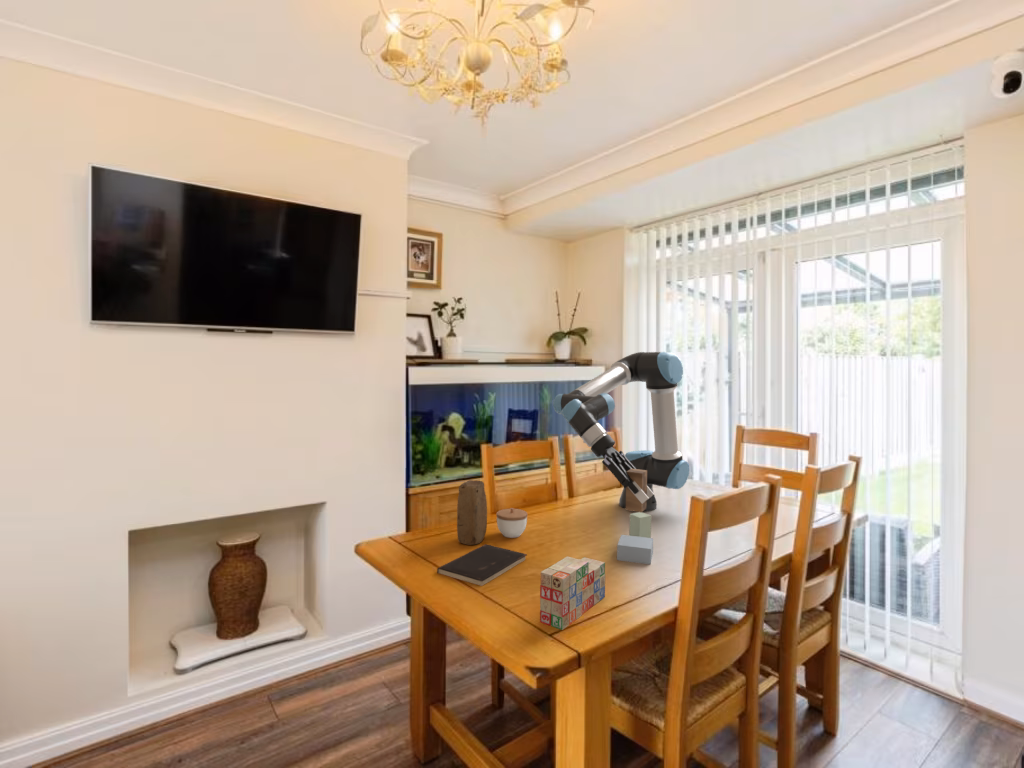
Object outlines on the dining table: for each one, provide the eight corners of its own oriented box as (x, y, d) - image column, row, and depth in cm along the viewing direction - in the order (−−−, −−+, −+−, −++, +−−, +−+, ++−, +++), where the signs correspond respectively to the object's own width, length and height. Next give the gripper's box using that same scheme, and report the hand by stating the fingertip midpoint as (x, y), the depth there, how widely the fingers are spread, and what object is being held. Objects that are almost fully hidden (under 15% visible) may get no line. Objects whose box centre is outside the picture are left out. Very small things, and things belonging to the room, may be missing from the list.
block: (474, 547, 173) (475, 486, 172) (454, 544, 176) (454, 484, 175) (489, 537, 183) (490, 479, 182) (470, 534, 186) (470, 477, 185)
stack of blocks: (584, 590, 142) (584, 545, 141) (605, 597, 138) (606, 550, 138) (539, 622, 125) (540, 571, 124) (562, 631, 121) (563, 578, 120)
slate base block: (621, 549, 173) (621, 534, 173) (652, 553, 170) (653, 538, 170) (616, 560, 164) (617, 544, 163) (650, 565, 160) (650, 549, 160)
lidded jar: (533, 536, 184) (533, 509, 183) (506, 542, 178) (506, 514, 178) (516, 528, 193) (516, 502, 192) (490, 533, 187) (490, 506, 187)
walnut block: (630, 505, 169) (631, 468, 169) (646, 508, 167) (647, 470, 166) (625, 509, 165) (626, 471, 164) (641, 512, 162) (642, 473, 162)
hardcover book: (526, 561, 163) (526, 554, 163) (482, 588, 144) (482, 580, 144) (484, 550, 172) (484, 543, 172) (437, 575, 152) (437, 567, 152)
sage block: (640, 537, 184) (640, 511, 184) (650, 542, 180) (651, 515, 179) (629, 539, 182) (629, 513, 181) (639, 544, 177) (640, 517, 177)
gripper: (601, 444, 180) (648, 499, 173) (579, 452, 165) (630, 513, 157) (616, 430, 177) (664, 485, 170) (596, 436, 162) (648, 498, 154)
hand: (648, 498), depth 164 cm, fingers closed on walnut block, 5 cm apart
